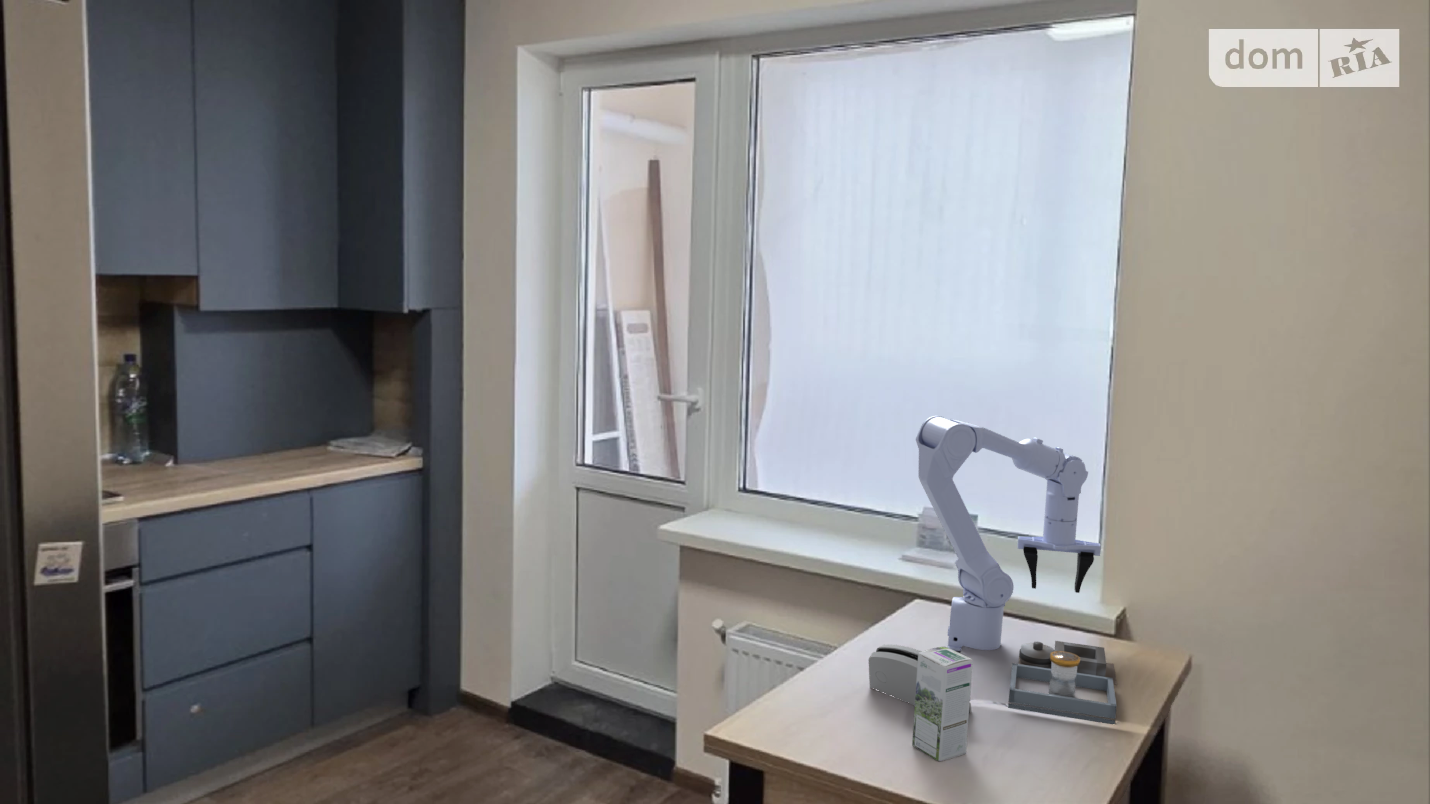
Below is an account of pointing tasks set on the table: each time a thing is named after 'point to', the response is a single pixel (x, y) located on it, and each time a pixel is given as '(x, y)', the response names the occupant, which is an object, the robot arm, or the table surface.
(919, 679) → the syrup box
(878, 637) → the table surface
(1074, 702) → the tray
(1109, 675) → the board
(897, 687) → the grey toaster
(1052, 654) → the gold-rimmed cylinder
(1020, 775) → the table surface
